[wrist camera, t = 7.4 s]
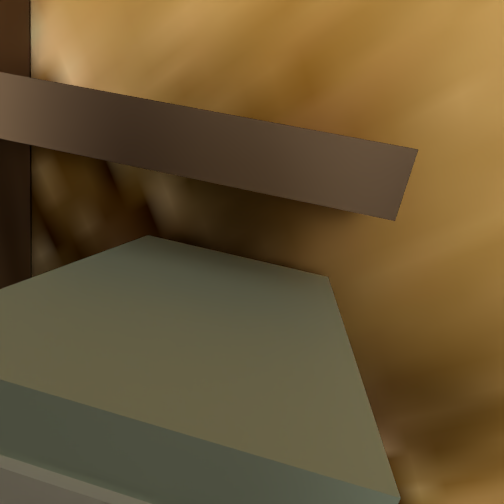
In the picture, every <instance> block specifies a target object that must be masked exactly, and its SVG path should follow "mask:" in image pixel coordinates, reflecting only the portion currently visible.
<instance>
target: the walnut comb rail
mask: <svg viewBox="0 0 504 504" xmlns="http://www.w3.org/2000/svg"><path fill="white" fill-rule="evenodd" d="M30 145H34V146H39V147H44V148H48V149H53V150H58V151H63V152H67V153H72V154H77V155H82V156H87V157H91V158H96V159H101V160H106V161H110V162H115V163H120V164H125V165H130V166H134V167H139V168H144V169H149V170H154V171H158V172H163V173H168V174H173V175H177V176H182V177H187V178H192V179H197V180H201V181H206V182H211V183H216V184H220V185H225V186H230V187H235V188H240V189H244V190H249V191H254V192H259V193H264V194H268V195H273V196H278V197H283V198H287V199H292V200H297V201H302V202H307V203H311V204H316V205H321V206H326V207H330V208H335V209H340V210H345V211H350V212H354V213H359V214H364V215H369V216H374V217H378V218H383V219H388V220H393V221H395V219H396V216H397V213H398V210H399V207H400V204H401V201H402V198H403V195H404V192H405V189H406V186H407V183H408V179H409V176H410V173H411V170H412V167H413V164H414V161H415V158H416V155H417V152H418V149H413V148H408V147H402V146H397V145H391V144H386V143H381V142H375V141H370V140H364V139H359V138H354V137H348V136H343V135H337V134H332V133H327V132H321V131H316V130H310V129H305V128H300V127H294V126H289V125H283V124H278V123H273V122H267V121H262V120H256V119H251V118H246V117H240V116H235V115H229V114H224V113H219V112H213V111H208V110H202V109H197V108H192V107H186V106H181V105H175V104H170V103H165V102H159V101H154V100H148V99H143V98H138V97H132V96H127V95H121V94H116V93H111V92H105V91H100V90H94V89H89V88H84V87H78V86H73V85H67V84H62V83H57V82H51V81H46V80H40V79H35V78H30V48H29V0H0V289H2V288H5V287H7V286H10V285H13V284H16V283H18V282H21V281H24V280H27V279H29V278H31V229H30Z"/></svg>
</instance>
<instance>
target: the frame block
mask: <svg viewBox="0 0 504 504" xmlns="http://www.w3.org/2000/svg"><path fill="white" fill-rule="evenodd" d="M399 501H400V495H399V491H398V488H397V485H396V482H395V479H394V476H393V473H392V470H391V467H390V464H389V461H388V458H387V455H386V452H385V449H384V446H383V443H382V440H381V437H380V434H379V430H378V427H377V424H376V421H375V418H374V415H373V412H372V409H371V406H370V403H369V400H368V397H367V394H366V391H365V388H364V385H363V382H362V379H361V376H360V372H359V369H358V366H357V363H356V360H355V357H354V354H353V351H352V348H351V345H350V342H349V339H348V336H347V333H346V330H345V327H344V324H343V321H342V318H341V315H340V311H339V308H338V305H337V302H336V299H335V296H334V293H333V290H332V287H331V284H330V281H329V278H328V277H327V276H323V275H318V274H314V273H310V272H305V271H301V270H297V269H292V268H288V267H284V266H279V265H275V264H271V263H266V262H262V261H258V260H253V259H249V258H245V257H240V256H236V255H232V254H228V253H223V252H219V251H215V250H210V249H206V248H202V247H197V246H193V245H189V244H184V243H180V242H176V241H171V240H167V239H163V238H158V237H154V236H150V235H147V236H144V237H142V238H139V239H136V240H133V241H131V242H128V243H125V244H122V245H120V246H117V247H114V248H112V249H109V250H106V251H103V252H101V253H98V254H95V255H92V256H90V257H87V258H84V259H81V260H79V261H76V262H73V263H70V264H68V265H65V266H62V267H59V268H57V269H54V270H51V271H49V272H46V273H43V274H40V275H38V276H35V277H32V278H29V279H27V280H24V281H21V282H18V283H16V284H13V285H10V286H7V287H5V288H2V289H0V504H398V503H399Z"/></svg>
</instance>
